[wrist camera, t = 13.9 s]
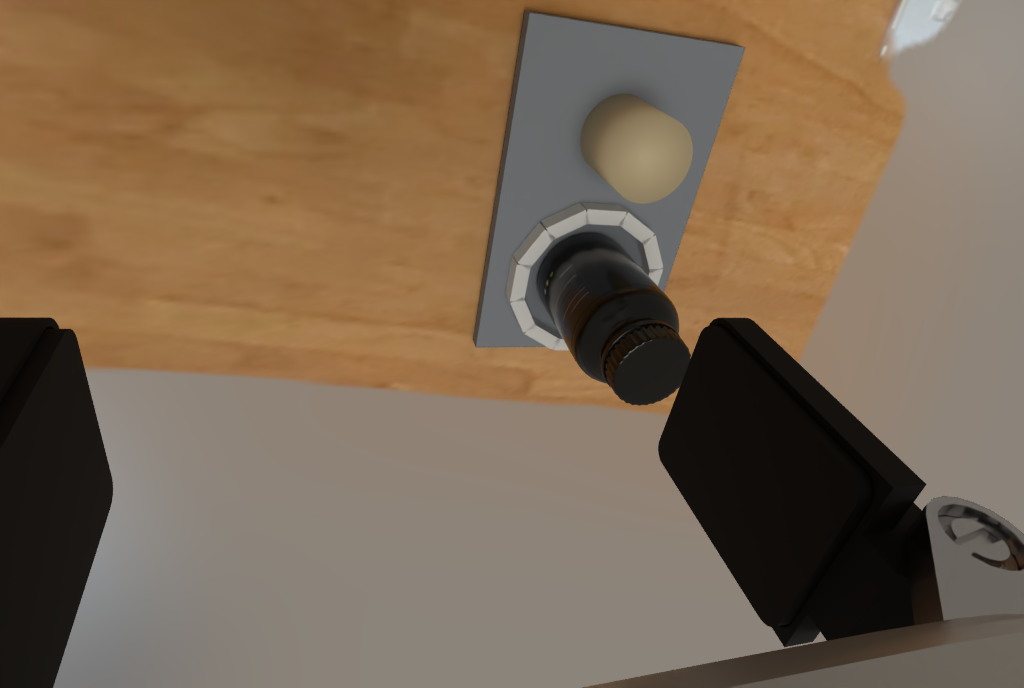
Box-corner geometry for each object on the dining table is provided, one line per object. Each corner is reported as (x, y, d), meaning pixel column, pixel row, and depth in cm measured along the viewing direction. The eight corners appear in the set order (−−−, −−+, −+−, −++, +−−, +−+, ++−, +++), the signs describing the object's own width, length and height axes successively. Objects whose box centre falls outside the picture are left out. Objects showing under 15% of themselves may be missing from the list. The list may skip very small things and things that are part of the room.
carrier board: (524, 10, 35) (559, 27, 30) (736, 44, 39) (795, 64, 35) (473, 339, 47) (492, 389, 42) (640, 338, 51) (675, 383, 46)
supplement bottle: (639, 237, 44) (730, 329, 35) (605, 319, 48) (680, 423, 38) (551, 222, 42) (623, 316, 32) (522, 309, 45) (580, 418, 36)
